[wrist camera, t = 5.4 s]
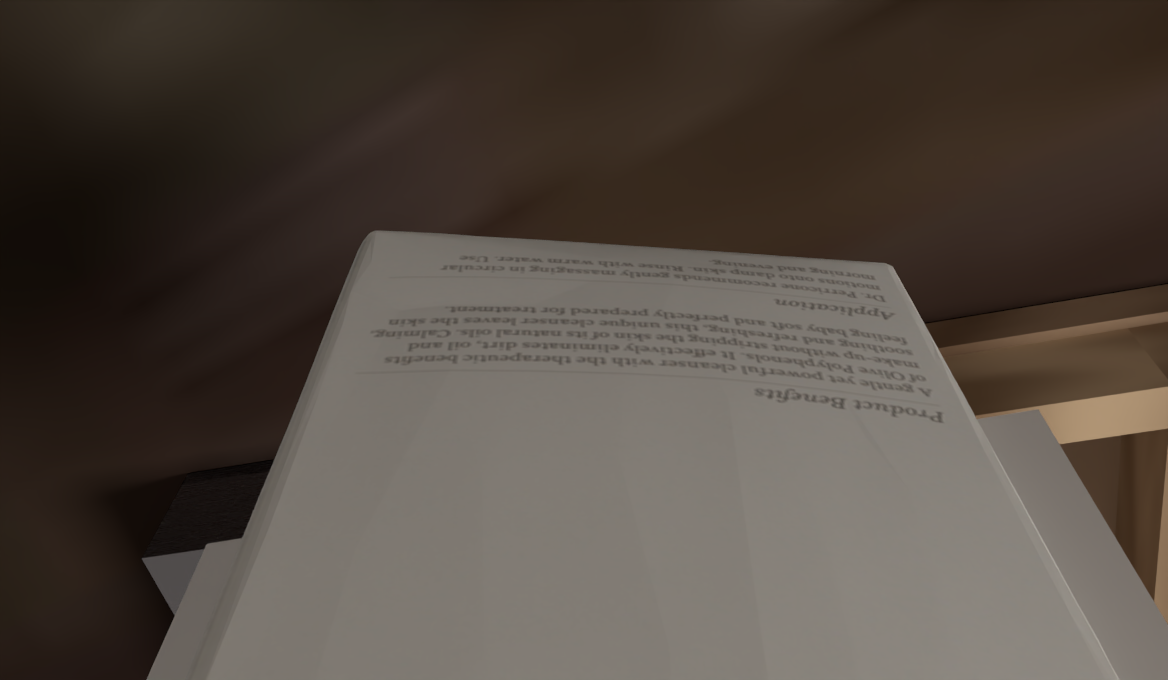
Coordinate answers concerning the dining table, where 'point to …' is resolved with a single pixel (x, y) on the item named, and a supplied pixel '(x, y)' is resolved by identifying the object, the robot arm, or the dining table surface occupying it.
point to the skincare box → (635, 483)
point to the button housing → (202, 523)
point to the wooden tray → (1085, 401)
